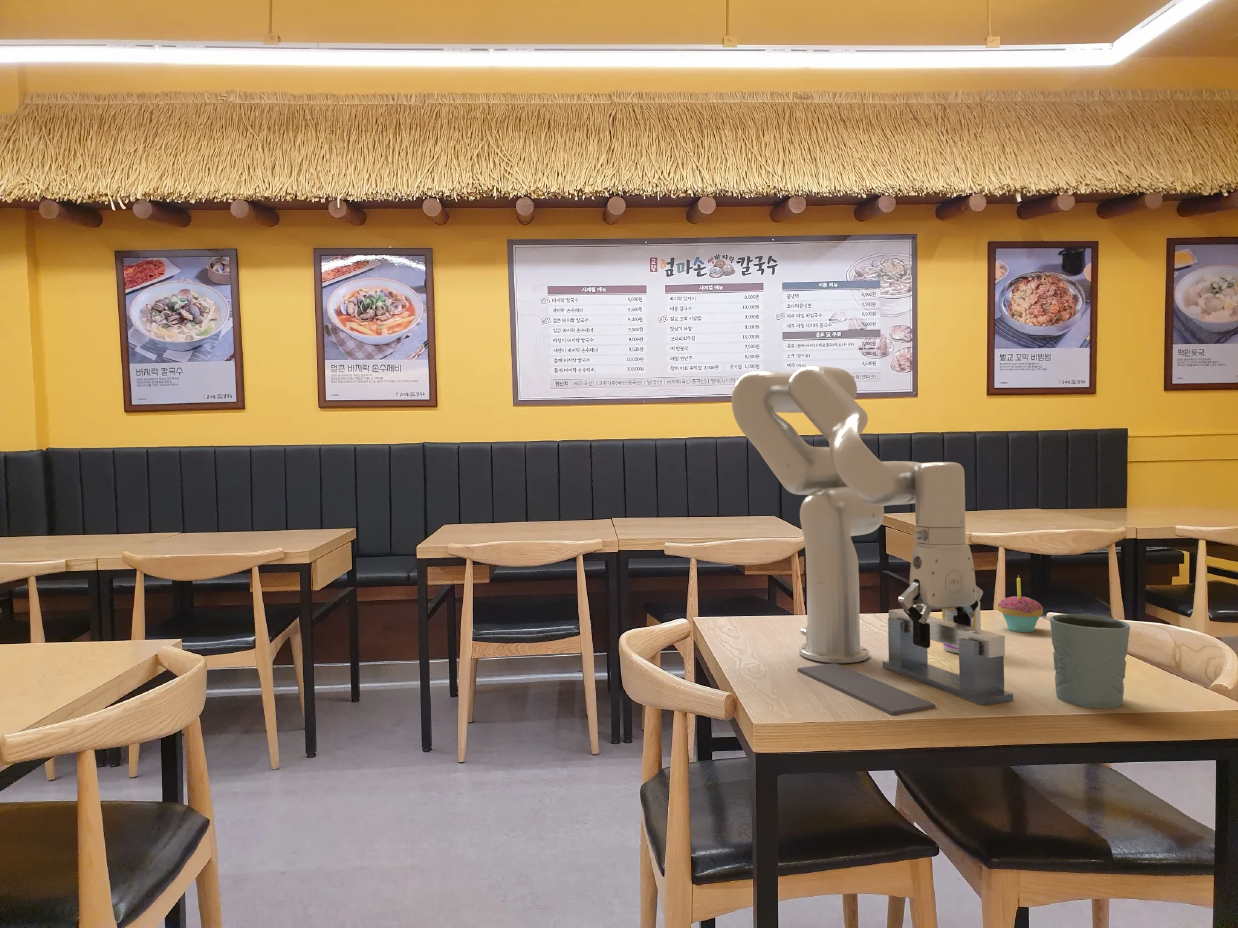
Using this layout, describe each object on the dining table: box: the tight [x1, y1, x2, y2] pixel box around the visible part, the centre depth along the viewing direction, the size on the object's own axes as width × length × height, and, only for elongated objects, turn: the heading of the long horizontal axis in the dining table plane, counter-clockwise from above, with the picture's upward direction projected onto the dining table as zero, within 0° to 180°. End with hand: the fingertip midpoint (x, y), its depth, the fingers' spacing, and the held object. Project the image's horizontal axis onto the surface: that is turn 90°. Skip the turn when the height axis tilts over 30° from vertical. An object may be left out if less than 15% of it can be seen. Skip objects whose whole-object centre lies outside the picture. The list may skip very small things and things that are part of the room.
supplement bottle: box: [941, 601, 982, 655], centre depth 139 cm, size 7×7×13 cm
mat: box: [796, 663, 937, 716], centre depth 118 cm, size 24×8×1 cm, turn 20°
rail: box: [888, 608, 1006, 658], centre depth 120 cm, size 22×3×3 cm, turn 20°
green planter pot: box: [1049, 613, 1131, 709], centre depth 111 cm, size 10×10×12 cm
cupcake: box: [997, 574, 1044, 633], centre depth 155 cm, size 9×8×12 cm
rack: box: [882, 617, 1014, 706], centre depth 120 cm, size 22×6×9 cm, turn 20°
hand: (942, 642), depth 120 cm, fingers open, 7 cm apart
